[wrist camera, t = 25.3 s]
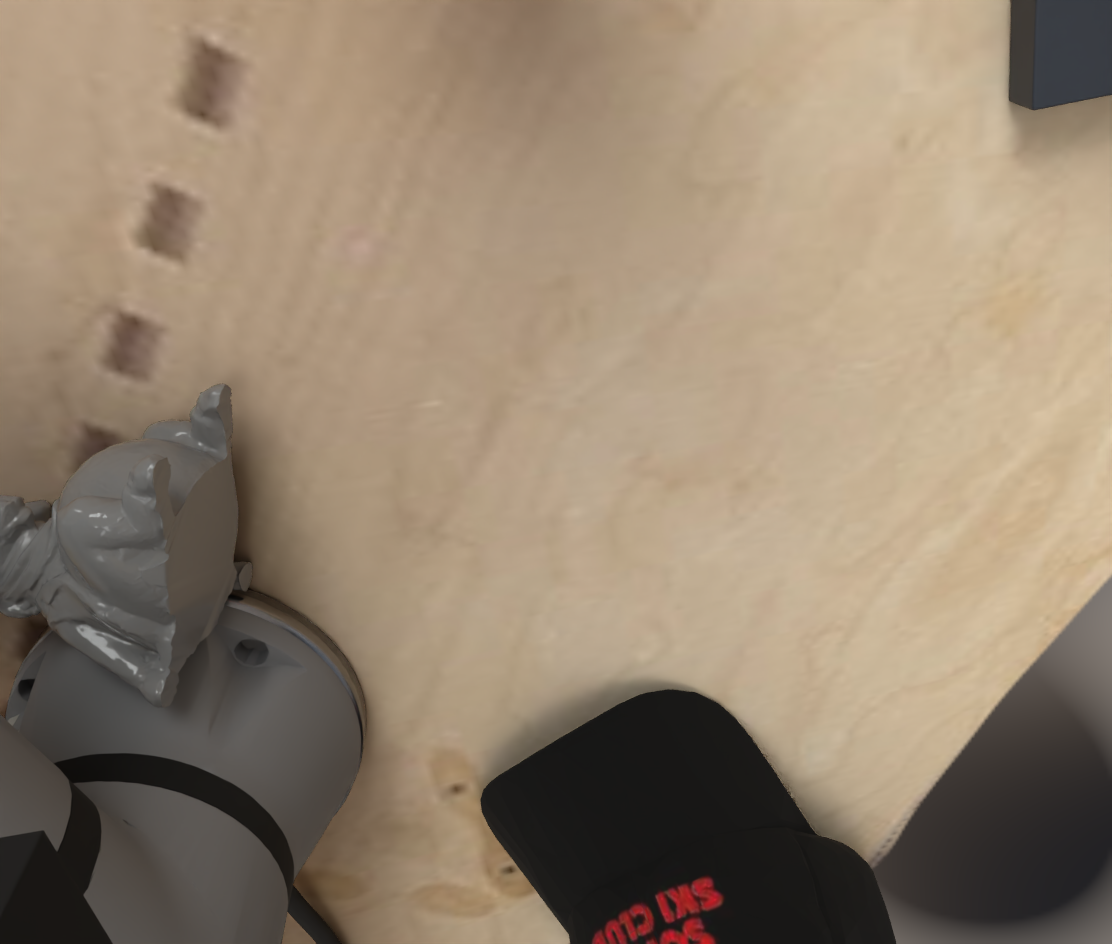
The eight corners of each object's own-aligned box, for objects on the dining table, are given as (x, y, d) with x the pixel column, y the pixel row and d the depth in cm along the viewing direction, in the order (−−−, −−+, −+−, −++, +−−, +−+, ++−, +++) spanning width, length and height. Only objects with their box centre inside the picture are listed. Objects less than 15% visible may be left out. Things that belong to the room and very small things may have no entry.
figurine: (142, 481, 32) (-190, 420, 32) (164, 718, 37) (-122, 662, 38) (247, 368, 39) (-27, 319, 40) (253, 580, 44) (12, 535, 45)
